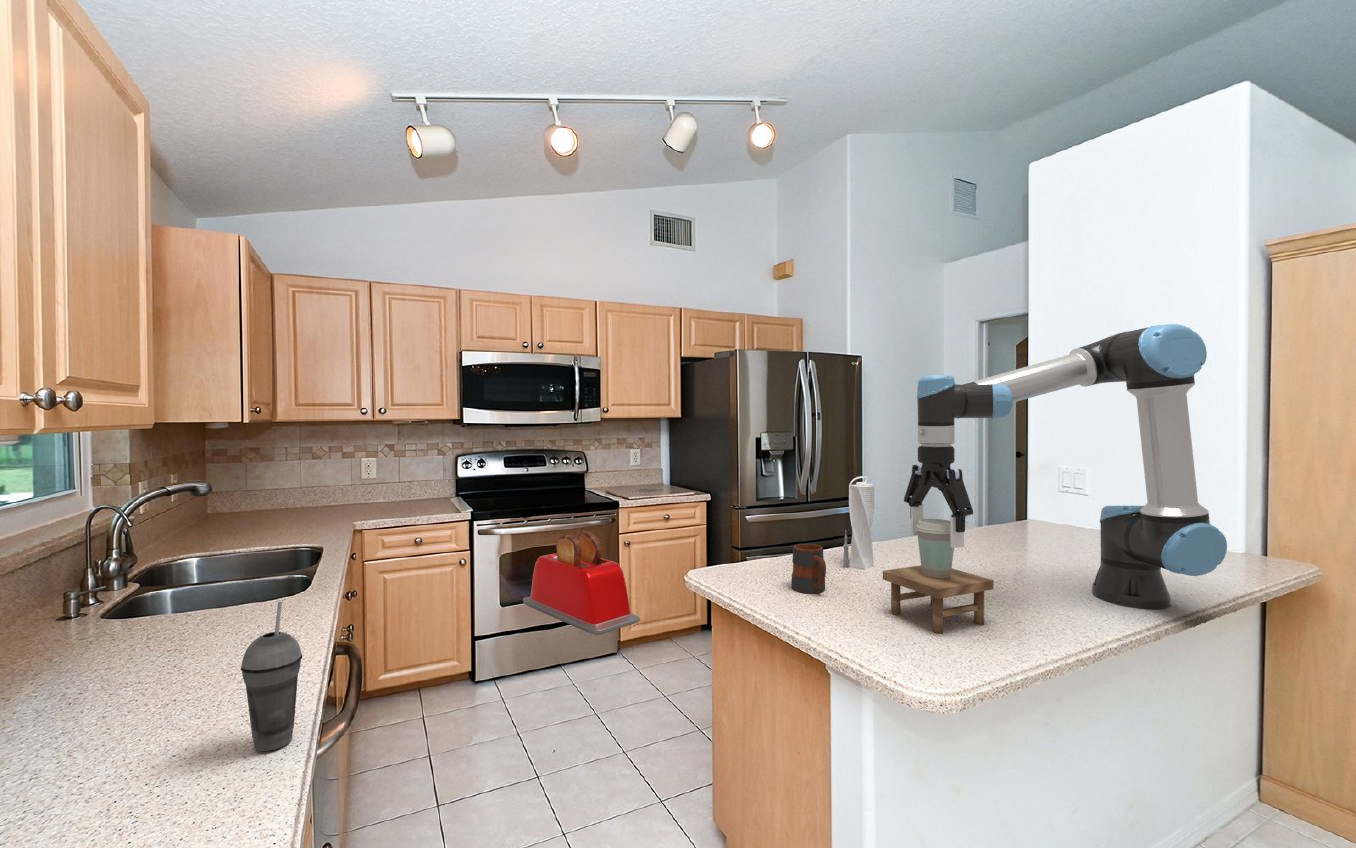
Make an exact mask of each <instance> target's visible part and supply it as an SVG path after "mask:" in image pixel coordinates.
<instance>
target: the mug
mask: <svg viewBox="0 0 1356 848" xmlns="http://www.w3.org/2000/svg"><path fill="white" fill-rule="evenodd" d="M791 562H792V573H791V589H792V590H793V591H795V592H797V593H800V594H801V593H802V594H808V595H814V594H820V593H824V591H826V577H827V576H826V574H827V564H826V561H825V559H824V548H823V546H821V545H818V544H814V543H798V544H794V545H793V547H792V561H791Z"/></svg>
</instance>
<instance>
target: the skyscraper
mask: <svg viewBox="0 0 1356 848" xmlns="http://www.w3.org/2000/svg"><path fill="white" fill-rule="evenodd" d="M858 479H865V480H864V481H860V482H859V481H858V482H856V484H853V482H854V481H856V480H858ZM868 480H869V477H868V476H866V475H865V476H864V475H861V476H856V477H855V478H853V479H852V480H851V481H850V483H849V484H848V493H849V494H848V508H849V517H850V525H851V529H852V531H851V532H852V534H851V543H850V557H849V544H848V535H847V530H846V529H845V530H844V531H845V532H844V533H845V535H844V544H843V545H842V547H843V559H842V564H843V568H845V569H847V568H849V567H851V568H855V569H856V568H857V569H860V570H864V571H867V570H868V569H869V568H872V567H874V566H875V565H874V549H873V548H874V547H873V537H872V525H873V521H874V511H875V484H873V483H867V482H868ZM849 563H850V565H849Z"/></svg>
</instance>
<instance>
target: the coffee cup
mask: <svg viewBox="0 0 1356 848" xmlns="http://www.w3.org/2000/svg"><path fill="white" fill-rule="evenodd" d="M916 530H917V535H916V536H917V541H918V542H917V543H918V550H919V558H920V565H921V568H922V574H923V575H924V576H926V577H930V578H937V579H945V578H950V577H951V569H952V567H953V560H954V551H955V548H952V547H951V537H950V519H949V520H948V519H942V518H923V519H920V520H918V523H917V525H916Z"/></svg>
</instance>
